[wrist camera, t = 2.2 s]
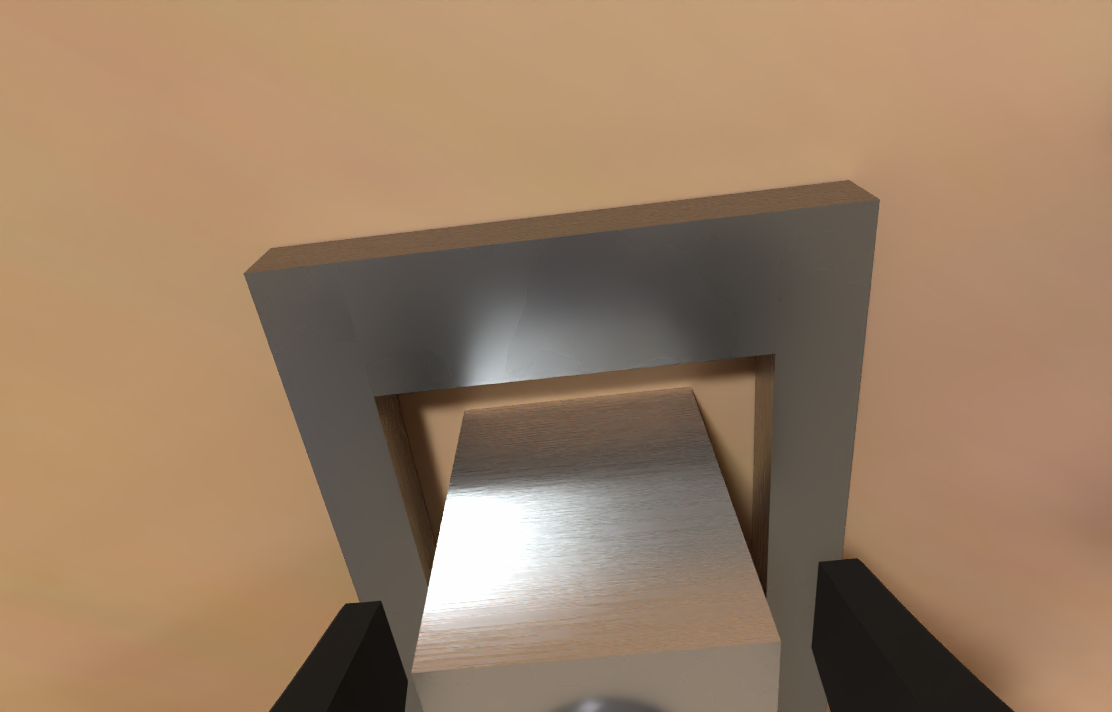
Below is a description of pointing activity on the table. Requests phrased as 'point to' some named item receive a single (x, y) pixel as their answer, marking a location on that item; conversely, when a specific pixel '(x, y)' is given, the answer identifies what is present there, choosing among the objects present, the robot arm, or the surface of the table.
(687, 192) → the table surface
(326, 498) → the rail
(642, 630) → the metal block with knob
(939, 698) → the robot arm
